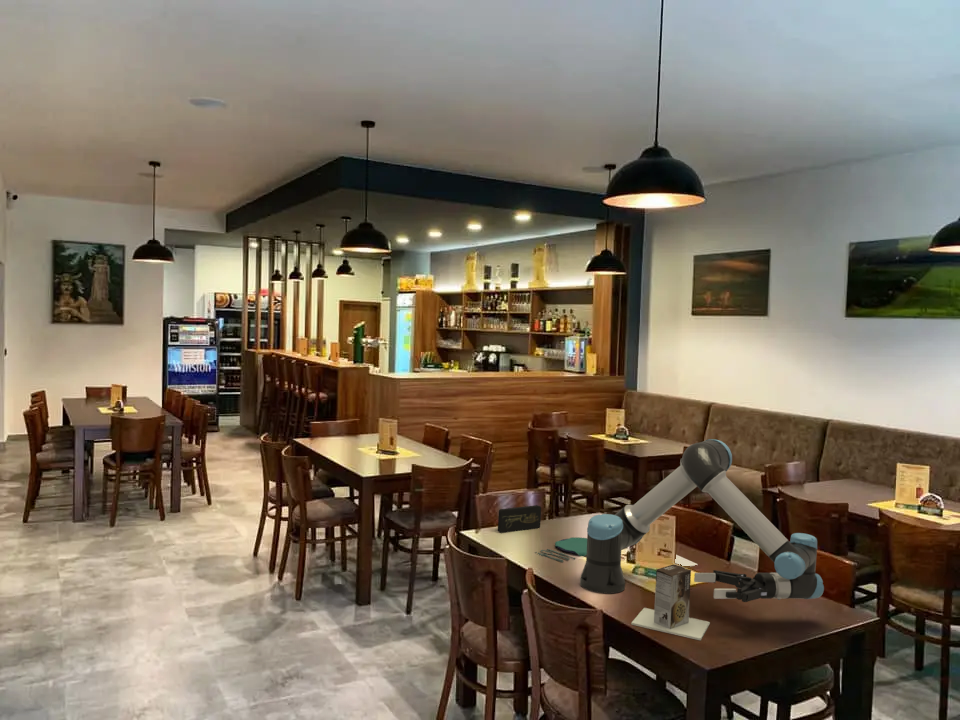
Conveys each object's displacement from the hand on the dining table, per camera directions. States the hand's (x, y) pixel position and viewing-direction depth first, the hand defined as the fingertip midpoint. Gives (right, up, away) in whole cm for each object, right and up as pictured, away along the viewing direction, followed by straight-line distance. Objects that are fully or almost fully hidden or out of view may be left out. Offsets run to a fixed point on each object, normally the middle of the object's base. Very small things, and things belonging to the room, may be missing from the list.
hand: (704, 585), depth 217 cm
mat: (-10, -11, -1) cm, 15 cm away
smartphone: (+9, -10, +62) cm, 64 cm away
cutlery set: (-31, -9, +69) cm, 76 cm away
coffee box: (-10, -11, -1) cm, 15 cm away
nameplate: (-50, -6, +95) cm, 108 cm away
